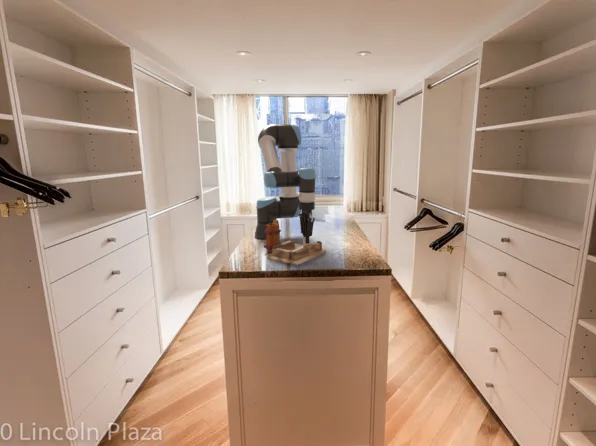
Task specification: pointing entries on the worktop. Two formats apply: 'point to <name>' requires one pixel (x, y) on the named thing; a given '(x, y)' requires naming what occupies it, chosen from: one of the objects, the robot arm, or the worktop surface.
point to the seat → (292, 253)
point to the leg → (314, 247)
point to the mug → (272, 235)
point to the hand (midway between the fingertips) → (306, 249)
